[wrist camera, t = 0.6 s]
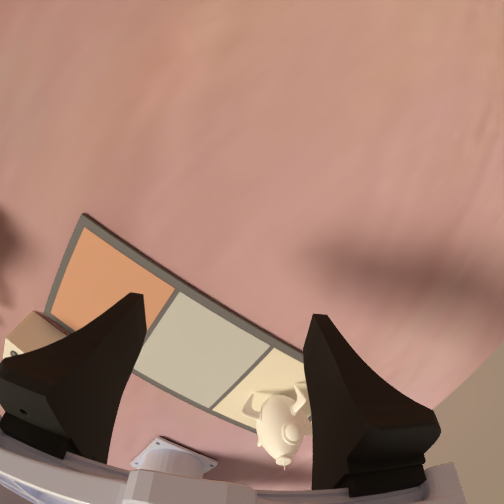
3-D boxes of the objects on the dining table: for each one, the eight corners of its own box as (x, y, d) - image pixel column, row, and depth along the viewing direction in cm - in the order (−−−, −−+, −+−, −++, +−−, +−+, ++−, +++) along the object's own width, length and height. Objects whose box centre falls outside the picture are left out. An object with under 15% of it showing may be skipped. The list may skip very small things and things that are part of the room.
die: (62, 368, 27) (41, 400, 22) (25, 341, 26) (1, 369, 21) (73, 339, 26) (50, 373, 21) (33, 310, 25) (5, 338, 20)
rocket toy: (301, 373, 26) (315, 444, 19) (311, 411, 28) (324, 476, 21) (241, 387, 27) (240, 458, 19) (257, 422, 29) (259, 488, 21)
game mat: (281, 441, 30) (281, 443, 30) (45, 311, 25) (43, 313, 24) (354, 380, 27) (355, 383, 27) (83, 213, 22) (81, 214, 21)
